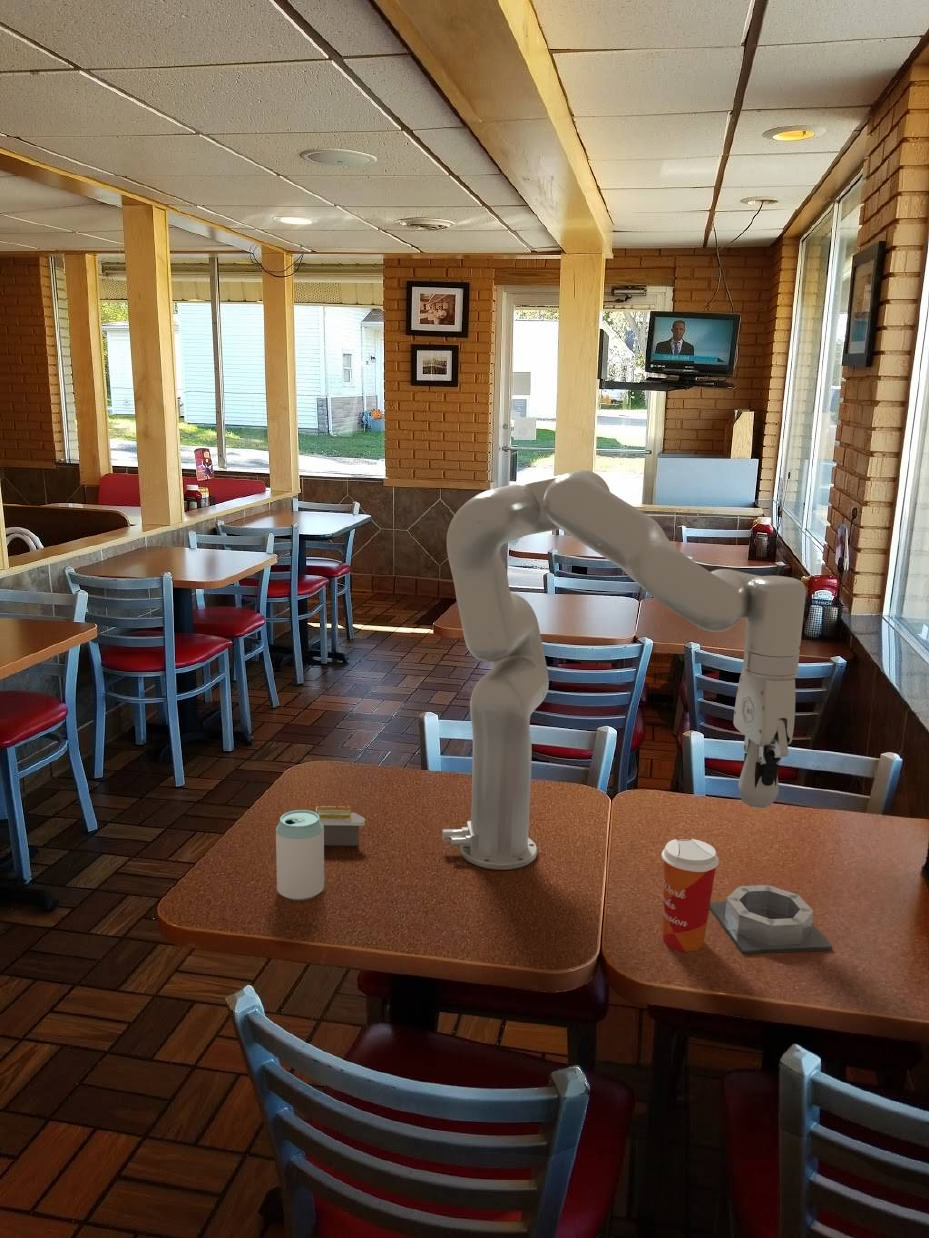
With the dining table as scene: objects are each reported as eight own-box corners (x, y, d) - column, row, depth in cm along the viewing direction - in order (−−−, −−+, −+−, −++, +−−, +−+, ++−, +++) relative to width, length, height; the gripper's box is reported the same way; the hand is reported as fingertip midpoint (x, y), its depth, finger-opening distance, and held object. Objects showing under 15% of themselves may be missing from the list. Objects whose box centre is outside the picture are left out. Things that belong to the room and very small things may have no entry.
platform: (286, 829, 167) (286, 793, 166) (390, 829, 168) (391, 794, 166) (276, 861, 156) (275, 823, 154) (387, 862, 156) (387, 824, 155)
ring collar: (742, 954, 132) (745, 930, 131) (707, 905, 144) (709, 883, 144) (831, 949, 134) (834, 926, 133) (789, 902, 146) (791, 880, 145)
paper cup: (648, 926, 138) (655, 836, 135) (700, 925, 139) (708, 836, 136) (664, 957, 131) (671, 863, 127) (719, 956, 131) (728, 862, 128)
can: (311, 906, 141) (310, 830, 139) (268, 898, 143) (266, 823, 141) (331, 884, 148) (331, 811, 145) (290, 876, 150) (289, 804, 147)
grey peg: (772, 795, 145) (780, 713, 142) (781, 811, 140) (790, 726, 137) (732, 793, 145) (740, 711, 143) (740, 809, 140) (748, 724, 137)
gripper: (722, 648, 145) (712, 763, 149) (772, 679, 129) (759, 807, 133) (768, 648, 146) (757, 762, 150) (824, 678, 130) (810, 804, 134)
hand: (758, 782), depth 142 cm, fingers closed on grey peg, 3 cm apart
